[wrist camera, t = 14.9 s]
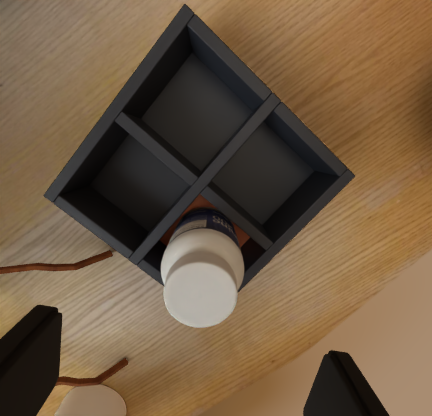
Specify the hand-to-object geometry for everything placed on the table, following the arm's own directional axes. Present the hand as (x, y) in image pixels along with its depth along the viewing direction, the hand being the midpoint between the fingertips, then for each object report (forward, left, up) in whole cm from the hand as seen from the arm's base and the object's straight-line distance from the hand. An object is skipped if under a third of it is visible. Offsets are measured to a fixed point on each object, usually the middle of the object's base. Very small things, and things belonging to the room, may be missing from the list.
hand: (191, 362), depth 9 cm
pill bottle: (0, 0, -14) cm, 14 cm away
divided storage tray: (-3, +3, -15) cm, 16 cm away
